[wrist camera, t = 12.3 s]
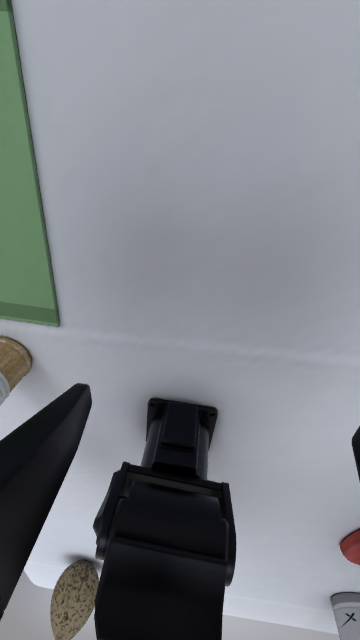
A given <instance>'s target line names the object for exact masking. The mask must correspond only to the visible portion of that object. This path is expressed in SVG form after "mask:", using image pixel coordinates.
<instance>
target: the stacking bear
mask: <svg viewBox="0 0 360 640" xmlns="http://www.w3.org/2000/svg"><path fill="white" fill-rule="evenodd" d="M340 548H341V551H342V553H343V555H344V556H345V557H346V558H347V560H349V561H350V562H353V563H355V564H358V565H360V530H359V531H356V532H355V533H353V534H351V535H350V536H348V537H347V538H346V539H345V540H344V541H343V542H342V543H341V545H340Z"/></svg>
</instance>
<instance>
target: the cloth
mask: <svg viewBox="0 0 360 640" xmlns="http://www.w3.org/2000/svg"><path fill="white" fill-rule="evenodd" d="M0 318H2V319H8V320H15V321H22V322H29V323H36V324H42V325H49V326H56V327H58V326H59V325H60V321H59V314H58V308H57V301H56V295H55V288H54V282H53V275H52V269H51V262H50V256H49V249H48V242H47V236H46V229H45V223H44V216H43V210H42V203H41V197H40V190H39V184H38V177H37V171H36V164H35V158H34V151H33V145H32V138H31V132H30V125H29V118H28V112H27V105H26V99H25V92H24V86H23V79H22V73H21V66H20V60H19V53H18V47H17V40H16V34H15V27H14V21H13V14H12V8H11V1H10V0H0Z"/></svg>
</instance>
